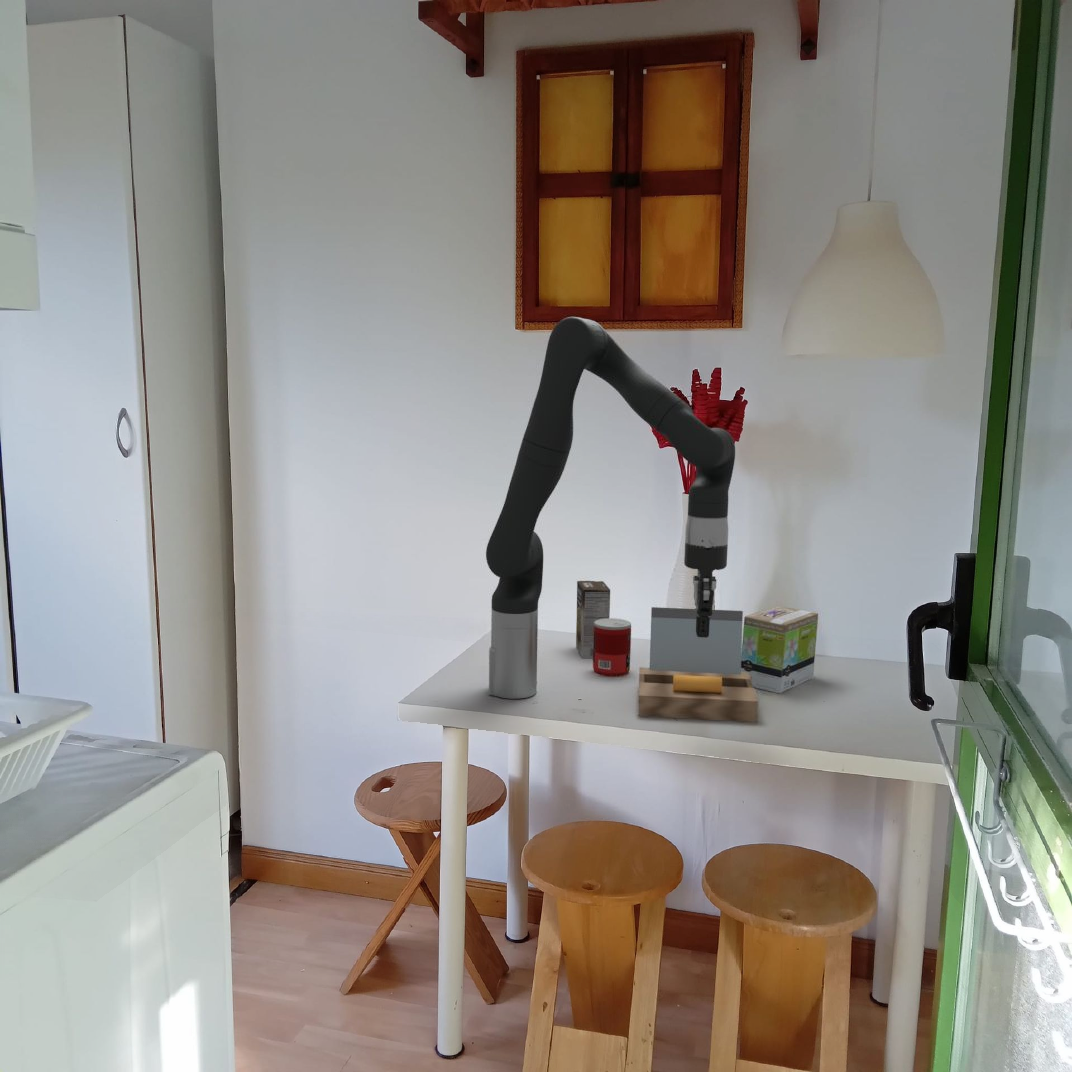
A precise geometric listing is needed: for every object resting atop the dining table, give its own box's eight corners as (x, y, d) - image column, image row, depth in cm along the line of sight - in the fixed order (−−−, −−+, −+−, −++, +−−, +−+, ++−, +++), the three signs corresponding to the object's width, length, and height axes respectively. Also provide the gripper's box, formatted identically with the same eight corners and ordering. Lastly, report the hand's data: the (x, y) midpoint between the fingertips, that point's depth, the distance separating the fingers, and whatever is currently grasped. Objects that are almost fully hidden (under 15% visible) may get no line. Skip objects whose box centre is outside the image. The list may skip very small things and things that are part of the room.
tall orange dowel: (673, 690, 184) (674, 674, 185) (672, 691, 187) (673, 675, 188) (721, 692, 183) (722, 676, 184) (720, 693, 186) (720, 677, 187)
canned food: (634, 676, 208) (636, 626, 206) (598, 678, 206) (600, 627, 204) (623, 665, 215) (624, 617, 213) (588, 667, 213) (589, 618, 212)
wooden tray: (638, 715, 183) (638, 695, 183) (638, 686, 201) (639, 667, 200) (757, 722, 181) (758, 701, 180) (747, 691, 199) (748, 672, 198)
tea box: (782, 695, 197) (786, 624, 195) (738, 684, 203) (741, 615, 201) (814, 678, 208) (819, 611, 206) (772, 669, 215) (775, 603, 212)
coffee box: (574, 647, 229) (576, 580, 226) (601, 647, 230) (603, 580, 227) (580, 658, 220) (582, 588, 217) (608, 658, 221) (611, 588, 218)
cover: (651, 607, 196) (651, 607, 196) (649, 670, 195) (649, 669, 196) (742, 611, 194) (742, 610, 194) (740, 674, 193) (740, 674, 194)
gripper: (683, 534, 181) (679, 625, 184) (686, 546, 167) (682, 644, 170) (724, 535, 180) (720, 626, 183) (731, 548, 166) (726, 646, 169)
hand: (702, 634), depth 176 cm, fingers closed
